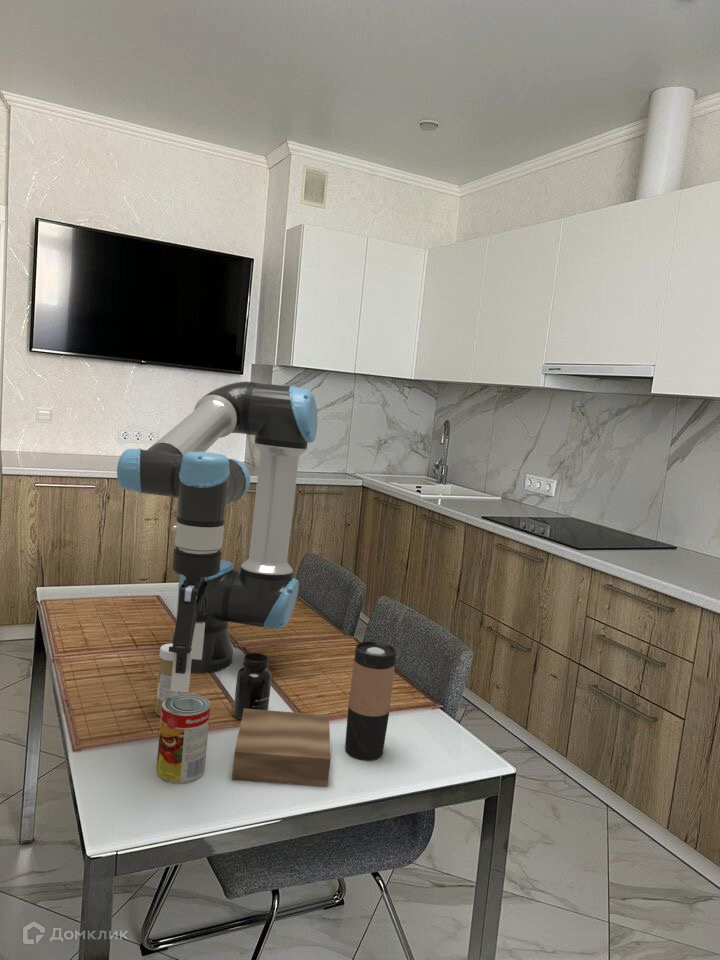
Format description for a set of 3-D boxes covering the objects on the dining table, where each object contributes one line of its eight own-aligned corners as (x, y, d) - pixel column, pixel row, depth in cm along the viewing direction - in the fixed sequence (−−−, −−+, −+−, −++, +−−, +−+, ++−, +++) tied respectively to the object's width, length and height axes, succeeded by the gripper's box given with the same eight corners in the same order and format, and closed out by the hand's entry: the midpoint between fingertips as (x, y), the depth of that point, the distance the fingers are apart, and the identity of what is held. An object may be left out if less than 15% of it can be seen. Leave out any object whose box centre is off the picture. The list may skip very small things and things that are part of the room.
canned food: (180, 753, 130) (185, 689, 128) (214, 769, 126) (220, 703, 125) (146, 771, 123) (151, 703, 122) (181, 789, 119) (187, 719, 118)
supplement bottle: (261, 725, 144) (266, 666, 142) (227, 718, 145) (233, 660, 143) (272, 710, 150) (278, 654, 149) (240, 704, 151) (245, 648, 150)
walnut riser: (241, 733, 139) (243, 708, 139) (326, 739, 141) (329, 715, 140) (232, 779, 124) (234, 751, 123) (327, 786, 125) (330, 758, 124)
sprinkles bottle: (161, 705, 147) (166, 641, 145) (183, 710, 146) (188, 645, 144) (150, 715, 142) (155, 648, 141) (172, 720, 142) (178, 653, 140)
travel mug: (354, 764, 133) (367, 658, 130) (336, 743, 140) (348, 642, 137) (391, 758, 137) (404, 654, 134) (372, 738, 143) (384, 639, 141)
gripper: (187, 530, 132) (177, 644, 134) (158, 565, 107) (147, 704, 110) (230, 534, 132) (219, 648, 135) (210, 570, 108) (198, 708, 110)
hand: (187, 673), depth 122 cm, fingers open, 13 cm apart
